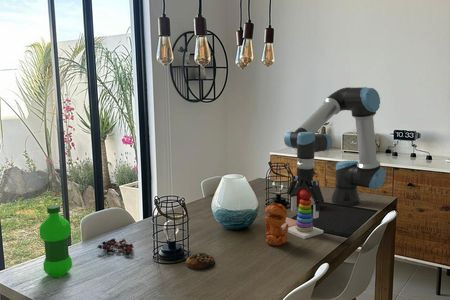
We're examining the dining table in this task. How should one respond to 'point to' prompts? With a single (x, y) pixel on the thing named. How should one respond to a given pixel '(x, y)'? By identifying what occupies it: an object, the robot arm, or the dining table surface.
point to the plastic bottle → (56, 243)
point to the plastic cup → (298, 196)
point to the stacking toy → (304, 213)
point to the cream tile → (304, 234)
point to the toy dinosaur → (276, 224)
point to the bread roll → (200, 261)
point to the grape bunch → (111, 243)
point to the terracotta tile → (289, 222)
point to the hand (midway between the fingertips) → (304, 214)
